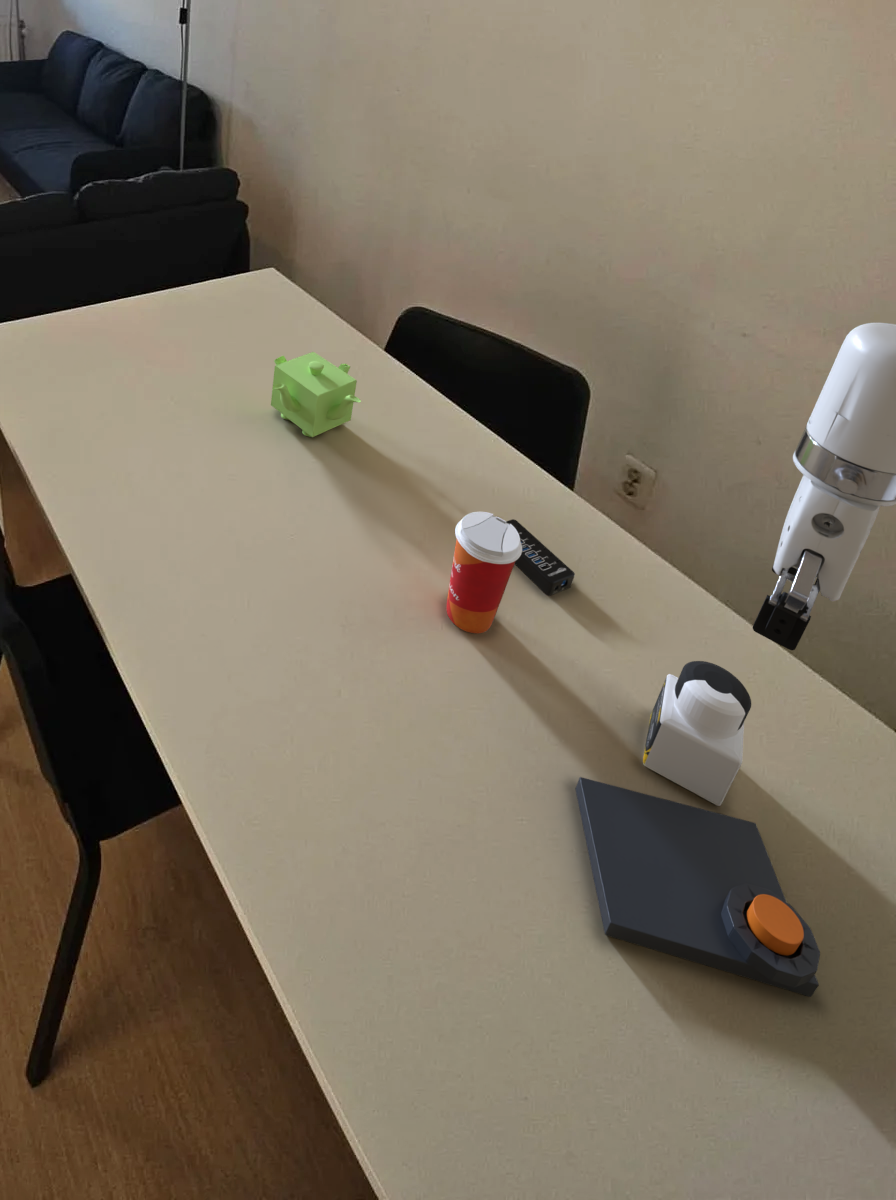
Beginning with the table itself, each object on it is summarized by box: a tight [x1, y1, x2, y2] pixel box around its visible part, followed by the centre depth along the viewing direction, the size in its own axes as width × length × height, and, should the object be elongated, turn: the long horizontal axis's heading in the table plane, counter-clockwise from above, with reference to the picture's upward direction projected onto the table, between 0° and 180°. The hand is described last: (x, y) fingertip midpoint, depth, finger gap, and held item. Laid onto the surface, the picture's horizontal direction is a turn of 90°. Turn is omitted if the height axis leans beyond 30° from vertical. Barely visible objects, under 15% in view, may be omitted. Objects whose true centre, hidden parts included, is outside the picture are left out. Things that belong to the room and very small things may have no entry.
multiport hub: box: [505, 519, 576, 597], centre depth 108 cm, size 4×11×2 cm, turn 23°
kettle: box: [270, 351, 362, 438], centre depth 135 cm, size 15×14×11 cm
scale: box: [575, 776, 821, 998], centre depth 72 cm, size 16×14×4 cm
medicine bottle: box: [642, 660, 752, 807], centre depth 82 cm, size 7×7×12 cm
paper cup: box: [445, 511, 522, 634], centre depth 97 cm, size 8×8×14 cm
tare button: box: [747, 894, 804, 955], centre depth 67 cm, size 4×4×2 cm
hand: (782, 607), depth 74 cm, fingers open, 9 cm apart
